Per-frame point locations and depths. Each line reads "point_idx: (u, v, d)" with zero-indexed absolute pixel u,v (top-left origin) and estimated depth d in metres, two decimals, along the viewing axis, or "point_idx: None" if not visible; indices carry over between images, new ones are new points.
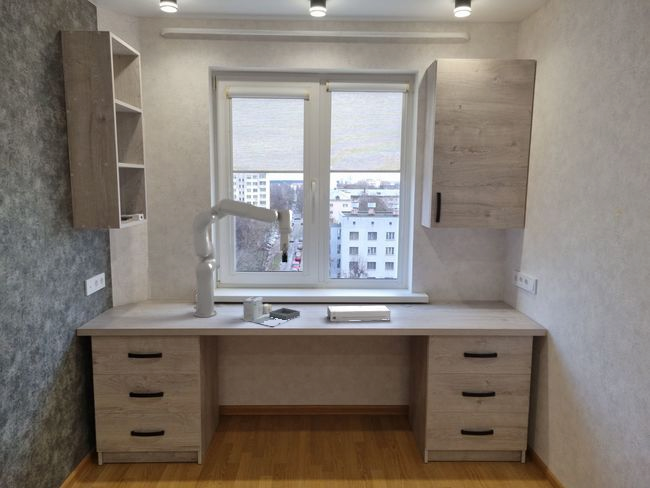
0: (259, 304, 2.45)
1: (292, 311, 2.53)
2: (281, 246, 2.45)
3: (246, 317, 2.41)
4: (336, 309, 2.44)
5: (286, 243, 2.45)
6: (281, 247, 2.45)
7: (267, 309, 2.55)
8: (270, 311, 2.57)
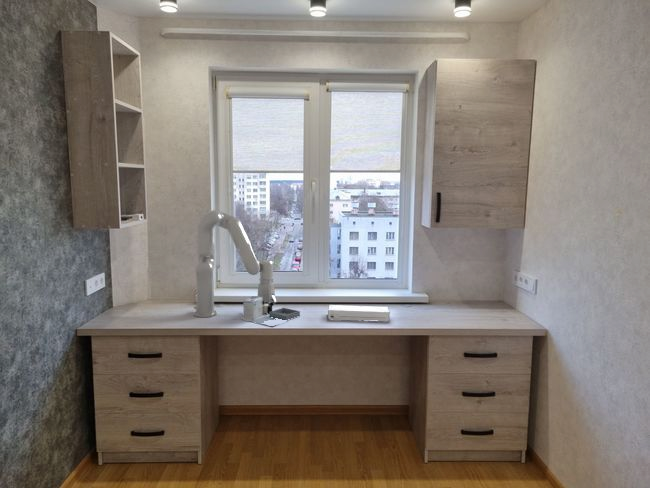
0: (259, 304, 2.45)
1: (292, 311, 2.53)
2: (270, 297, 2.52)
3: (246, 317, 2.41)
4: (335, 308, 2.47)
5: (273, 293, 2.54)
6: (270, 298, 2.52)
7: (267, 309, 2.55)
8: None
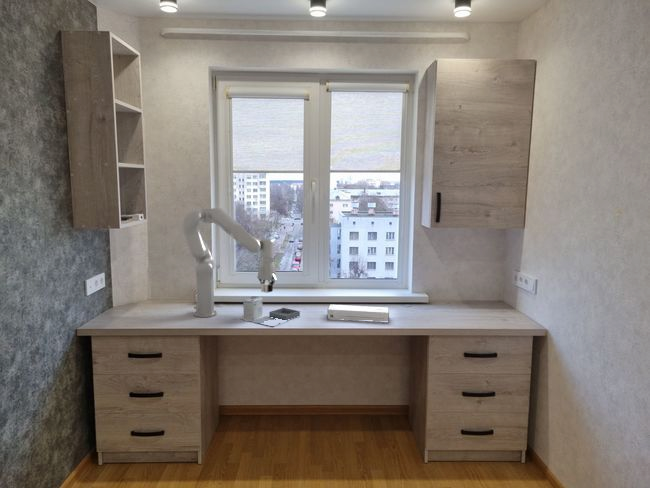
0: (259, 304, 2.45)
1: (292, 311, 2.53)
2: (271, 275, 2.50)
3: (246, 317, 2.41)
4: (335, 308, 2.48)
5: (274, 271, 2.52)
6: (271, 276, 2.50)
7: (267, 288, 2.53)
8: None
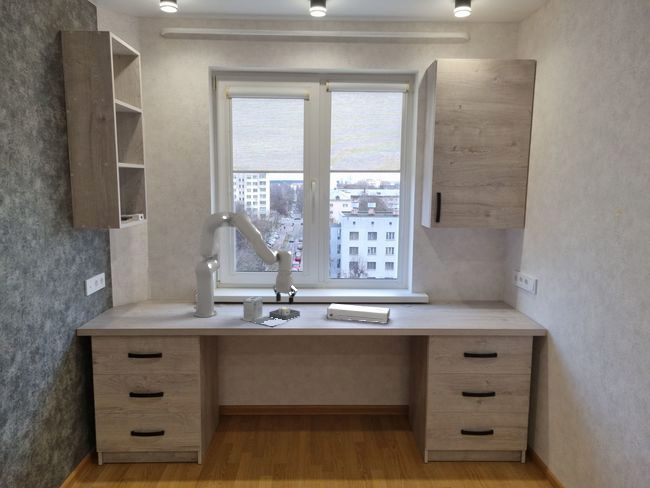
0: (259, 304, 2.45)
1: (292, 311, 2.53)
2: (289, 288, 2.43)
3: (246, 317, 2.41)
4: (335, 307, 2.49)
5: (292, 284, 2.45)
6: (289, 289, 2.43)
7: (285, 312, 2.47)
8: None
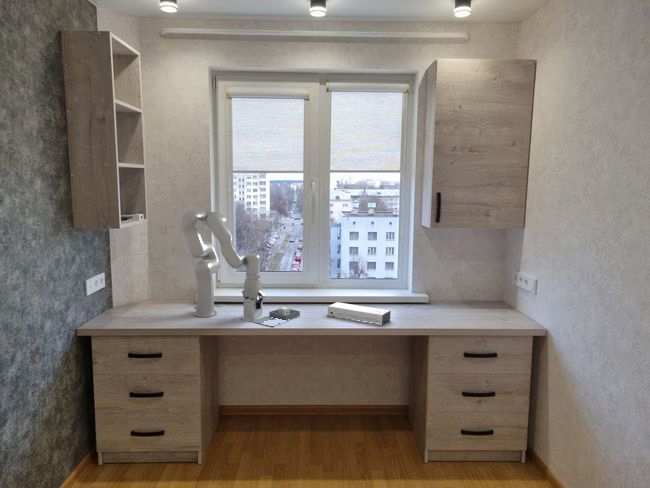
0: None
1: (292, 311, 2.53)
2: (257, 292, 2.40)
3: (246, 317, 2.41)
4: (336, 305, 2.53)
5: (260, 289, 2.42)
6: (257, 293, 2.40)
7: (285, 312, 2.47)
8: None
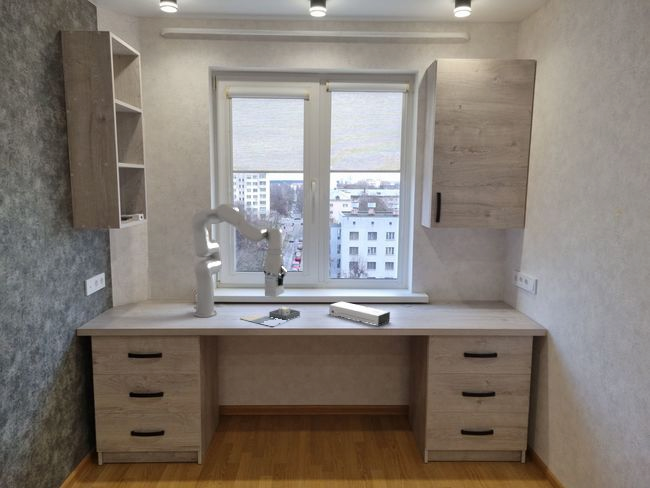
0: None
1: (292, 311, 2.53)
2: (279, 268, 2.29)
3: (267, 294, 2.30)
4: (338, 305, 2.55)
5: (282, 264, 2.31)
6: (279, 269, 2.29)
7: (285, 312, 2.47)
8: None
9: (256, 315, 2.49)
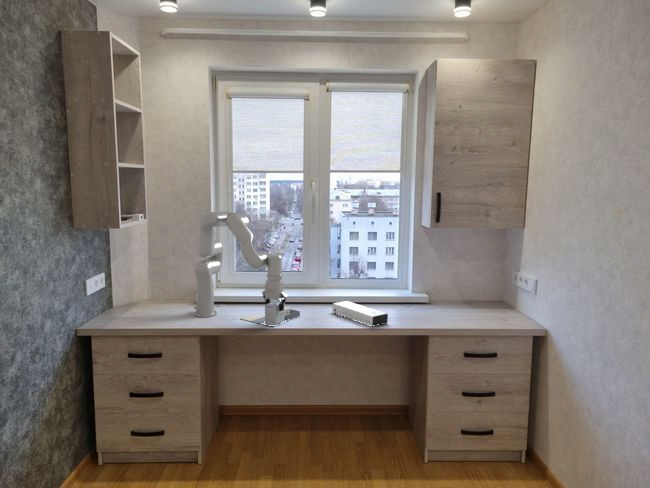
0: None
1: (292, 311, 2.53)
2: (279, 294, 2.30)
3: (267, 322, 2.32)
4: (341, 304, 2.57)
5: (282, 290, 2.32)
6: (279, 295, 2.30)
7: (285, 312, 2.47)
8: None
9: (256, 315, 2.49)
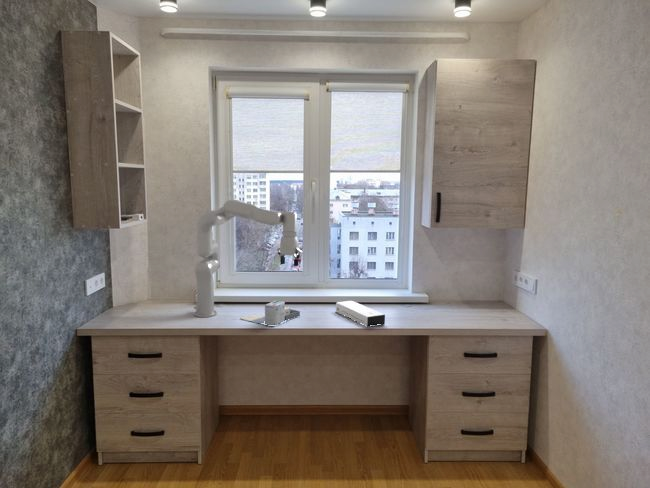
0: (281, 309, 2.36)
1: (292, 311, 2.53)
2: (294, 250, 2.37)
3: (267, 322, 2.32)
4: (344, 303, 2.59)
5: (297, 246, 2.40)
6: (294, 251, 2.38)
7: (285, 312, 2.47)
8: None
9: (256, 315, 2.49)
